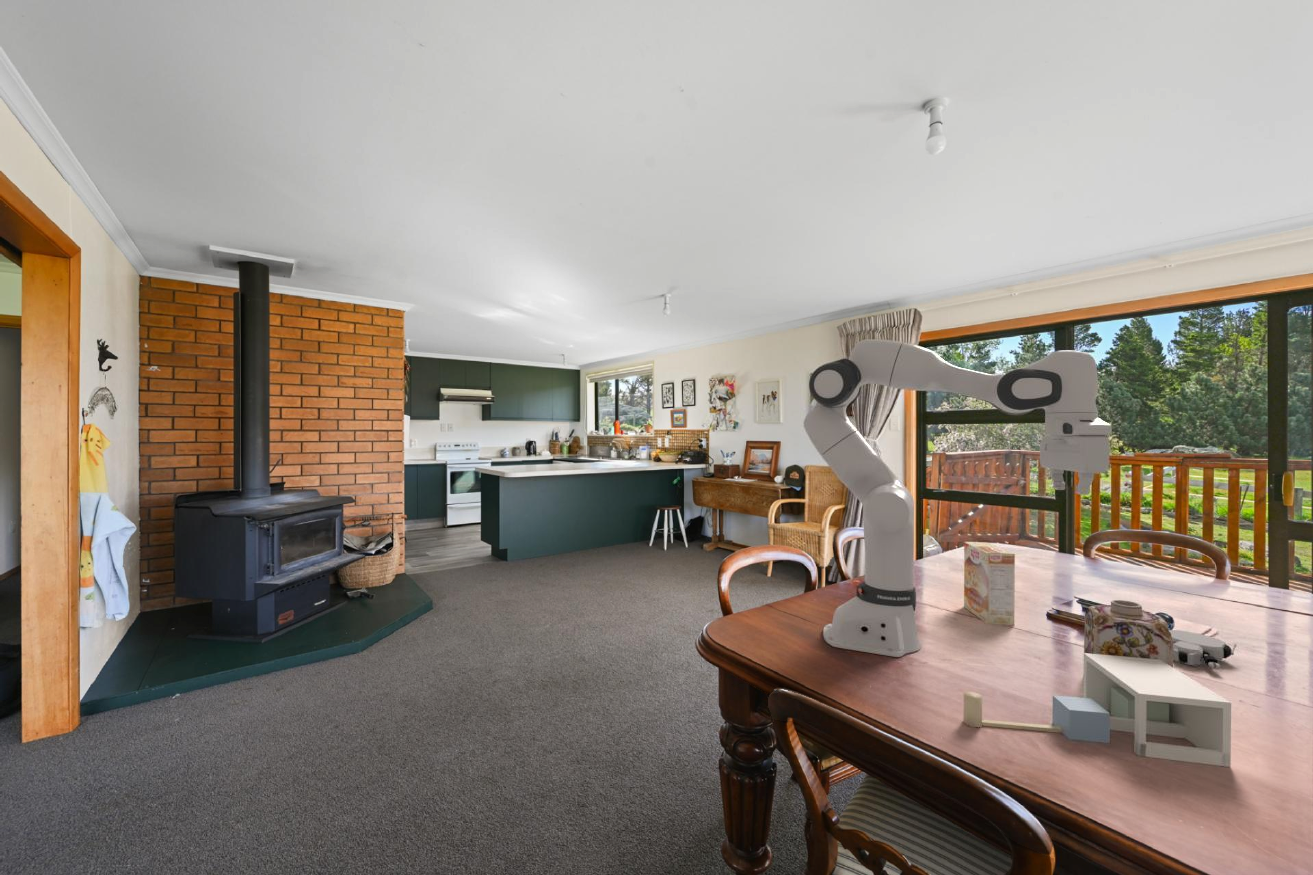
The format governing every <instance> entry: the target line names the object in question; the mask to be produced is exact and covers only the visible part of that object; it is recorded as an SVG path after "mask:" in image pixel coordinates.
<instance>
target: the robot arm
mask: <svg viewBox="0 0 1313 875" xmlns="http://www.w3.org/2000/svg"><path fill="white" fill-rule="evenodd" d="M1097 366H1098V365H1097V364H1096V360H1095V358H1094V357H1093V356H1092V355H1091V354H1089V353H1088V352H1084V351H1080V350H1079V351H1078V350H1071V349H1070V350H1068V349H1067V350H1066V349H1065V350H1064V349H1063V350H1054V351H1052V352H1050V353H1049V354H1047V355H1046V356H1045V357H1043V358H1041V359H1038V360H1036V361H1034V362H1031V363H1029V364H1027V365H1024V366H1021V367H1018V368H1014V369H1012V370H1010V371H1008V372H1006V373H1005V374H990V373H985V372H982V371H975V370H971V369H967V368H964V367H963V368H962V367H959V366H956V365H953V364H951V363H949V362H948V361H946V360H944V359H943V358H942V357H941V356H939V354H937V353H936V352H935V351H933V350H932V349H931V350H930V349H929V348H926V347H923V346H921V345H918V344H914V343H909V342H904V341H899V340H892V339H891V340H890V339H878V338H876V339H874V338H873V339H870V338H868V339H867V338H866V339H862V340H860V341H858V342H856V344H855V345H854V346H853V348H852V350H851V351H850V354H849V356H848V358H841V359H838V360H834V361H831V362H827V363H824V364H823V365H820V366H818V367H817V368H816V369H815V370H814V371H813V372H812V374H811V375H810V378H809V382H808V387H809V388H808V390H809V393H810V395H811V397H812V398H813V400H814V401H815V402H816V404H815V405H814V407H813V408H812V409H810V411H809V412H808V413H807V414H806V415H805V417H804V420H803V428H804V430H805V432H806V435H807V436H808V438H809V440H810V441H811V443H812V445H813V446H814V448H815V450H816V451H817V452H818V453H819V455H820V456H821V457H822V459H823V460H824V461H825V463H826V464H827V465H828V466H829V468H830V469H831V470H832V472H833V473H834V474H835V476H836V477H837V478H838V480H839V481H840V482H841V483H842V484H844V486H845V487H846V488H847V489H848V490H849V491H850V492H851V493H852V494H853V495H854V496H855V497H856V499H857V500H858V501H859V502H860V503H861V505H862V508H863V510H862V513H863V539H864V541H863V542H864V581H862V582H861V581H860V580H858V579H854V580H853V581H852V587H853V589H855V591H856V592H855V596H854V597H852V598H851V599H849V600H848V601H846V602H845V603H843V604H841V605H839V606H838V607H837V608H836V609H835V611H834V613H833V617H832V621H831V622H832V623H827V624H826V625H825V626H824V627H823V629H822V630H823V631H822V636H823V639H824V641H825V642H826V643H827V644H829V645H830V646H832V647H833V648H838V649H843V650H851V651H857V652H863V653H870V654H876V655H881V656H888V657H895V658H900V657H903V656H904V655H906V654H910V653H914V652H917V651H919V650H920V649H921V648H922V644H921V642H920V638H919V634H918V630H917V629H918V628H917V624H916V615H915V611H916V607H917V592H916V587H915V586H914V583H915V582H914V580H915V578H914V576H915V575H914V569H915V568H914V567H915V566H914V565H915V564H914V563H915V560H914V558H915V554H914V552H915V544H914V543H915V540H914V539H915V532H914V531H915V503H914V498H913V495H912V494H911V492H910V491H909V489H908V488H907V487H906V486H905V484H904V483H903V482H902V481H901V480H900V479H899V477H898V476H897V475H896V474H895V473H894V472H893V471H892V469H891V468H890V467H889V466H888V465H887V464H886V463H885V462H884V460H883V459H882V458H881V457H880V456H879V455H878V454H877V452H876V451H875V450H874V449H873V447H872V446H871V444H869V443H868V441H867V440H866V439H865V438H864V437H863V435H862V434H861V432H859V430H858V429H857V427H856V426H855V425H854V424H853V423H852V422H851V420H850V418H849V417H848V415H847V414H848V413H847V412H848V411H849V409H850V408H851V407H852V405H853V404H854V403H855V402H856V401H857V399H858V398H859V396H860V393H861V388H862V386H864V385H867V384H868V385H869V384H875V385H880V386H884V387H888V388H889V387H890V388H893V389H897V390H898V389H899V390H905V391H906V390H907V391H918V392H920V391H922V392H930V391H931V392H946V393H951V394H955V395H960V396H964V397H968V398H973V399H976V400H981V401H983V402H987V403H988V404H990V405H991V406H992V407H994V408H996V409H997V410H998V411H1000V412H1002V413H1004V414H1007V415H1011V416H1022V415H1026V414H1028V413H1030V412H1032V411H1034V410H1036V409H1043V410H1044V412H1045V413H1044V415H1045V416H1044V420H1045V422H1044V436H1043V437H1042V438H1041V441H1040V446H1039V447H1040V448H1039V464H1040V467H1041V468H1043V469H1044V468H1045V469H1049V474H1050V477H1051V480H1052V488H1053V489H1054V490H1057V491H1065V490H1066V481H1064V476H1063V474H1064V473H1065V472H1064V471H1068V472H1076V473H1077V477H1078V478H1079V479H1078V484H1077V485H1075V493H1076V494H1077V495H1080V496H1081V495H1083V496H1089V495H1090V494H1091V493H1090V492H1091V485H1092V483H1093V481H1094V479H1095V474H1106V472H1107V471H1108V468H1109V466H1110V449H1111V444H1110V439H1109V438H1108V437H1109V436H1111V435H1112V431H1113V429H1112V425H1111V424H1110V423H1108V422H1105V421H1104V420H1102V419H1101V418H1099V411H1098V407H1097V403H1096V398H1097V396H1098V393H1099V379H1098V378H1099V376H1098V374H1099V373H1098V368H1097Z"/></svg>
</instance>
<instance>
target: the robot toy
mask: <svg viewBox="0 0 1313 875" xmlns="http://www.w3.org/2000/svg"><path fill="white" fill-rule="evenodd" d="M1168 630H1169V629H1168ZM1169 632H1170V633H1171V637H1172V640H1173V661H1175V662H1178V663H1181V664H1185V665H1189V666H1194V667H1198V666H1199V665H1201V664H1203V662H1204V664H1205V665H1206V666H1207V667H1209V668H1214V669H1215V668H1216V669H1220V668H1221V665H1220V664H1219V660H1220V661H1221V660H1223V659H1228V658H1229V657H1230V656H1234V653H1235V649H1236V647H1237V643H1234V644H1233V647H1232V648H1231V647H1230V646H1229V645H1228V644H1227V643H1226V641H1223V640H1221V639H1219V638H1216V637H1212V636H1210V635H1206V634H1205V635H1204V634H1201V633H1197V632H1191V631H1185V630H1180V629H1170V630H1169Z"/></svg>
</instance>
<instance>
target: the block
mask: <svg viewBox="0 0 1313 875" xmlns="http://www.w3.org/2000/svg"><path fill="white" fill-rule="evenodd" d="M1110 715H1112V717H1121V718H1130V719H1135V696H1133V695H1132V694H1131V693H1129V692H1128V691H1127V690H1125V689H1124V688H1119V687H1111V711H1110ZM1146 720H1148V721H1157V722H1166V723H1169V704H1168V703H1166V702H1156V701H1146Z"/></svg>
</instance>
